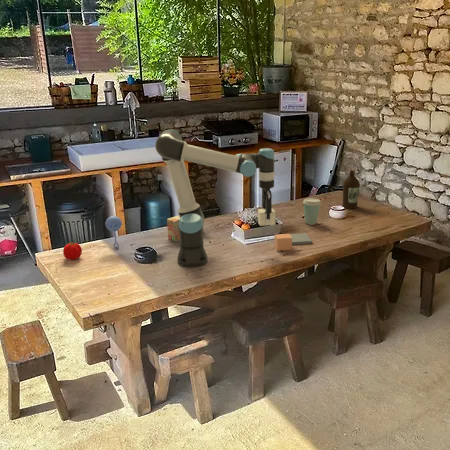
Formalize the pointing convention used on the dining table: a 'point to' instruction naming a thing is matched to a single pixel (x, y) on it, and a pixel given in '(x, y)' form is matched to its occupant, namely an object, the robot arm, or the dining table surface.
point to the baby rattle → (114, 225)
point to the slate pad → (300, 239)
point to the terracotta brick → (283, 242)
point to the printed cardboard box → (173, 228)
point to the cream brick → (262, 217)
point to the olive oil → (350, 191)
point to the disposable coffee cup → (311, 210)
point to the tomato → (72, 251)
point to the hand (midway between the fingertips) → (266, 222)
